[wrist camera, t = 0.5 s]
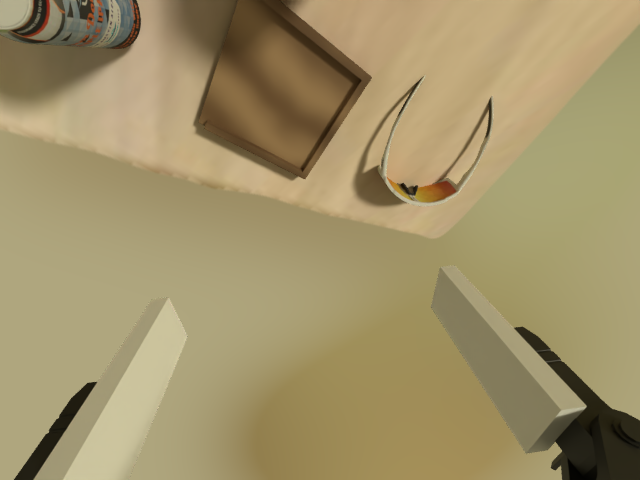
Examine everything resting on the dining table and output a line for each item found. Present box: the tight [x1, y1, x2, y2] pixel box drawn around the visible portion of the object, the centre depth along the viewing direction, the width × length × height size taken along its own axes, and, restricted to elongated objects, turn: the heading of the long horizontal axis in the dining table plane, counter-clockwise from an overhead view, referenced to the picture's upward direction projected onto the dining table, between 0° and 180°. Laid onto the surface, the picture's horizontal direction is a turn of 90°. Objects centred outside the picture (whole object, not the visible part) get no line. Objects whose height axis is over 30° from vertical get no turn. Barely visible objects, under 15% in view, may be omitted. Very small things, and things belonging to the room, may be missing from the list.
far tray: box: [198, 0, 372, 179], centre depth 29 cm, size 14×14×2 cm
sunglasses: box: [378, 75, 493, 206], centre depth 35 cm, size 14×15×5 cm
